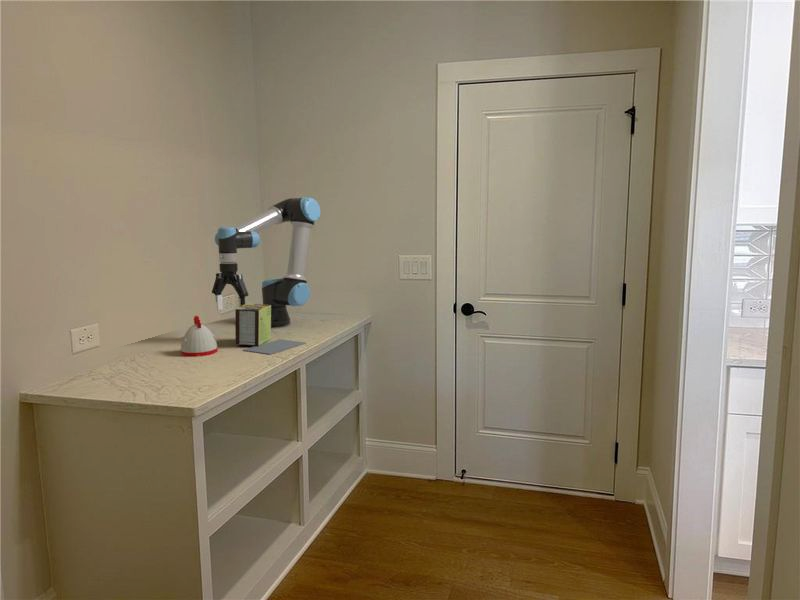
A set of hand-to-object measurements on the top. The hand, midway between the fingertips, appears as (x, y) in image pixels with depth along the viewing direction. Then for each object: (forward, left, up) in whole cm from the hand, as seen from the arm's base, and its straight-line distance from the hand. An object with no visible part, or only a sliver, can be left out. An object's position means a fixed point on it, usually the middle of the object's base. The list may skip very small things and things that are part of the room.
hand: (230, 311), depth 238 cm
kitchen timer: (+22, +5, -14) cm, 26 cm away
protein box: (0, +13, -13) cm, 18 cm away
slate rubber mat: (+1, +26, -13) cm, 29 cm away
